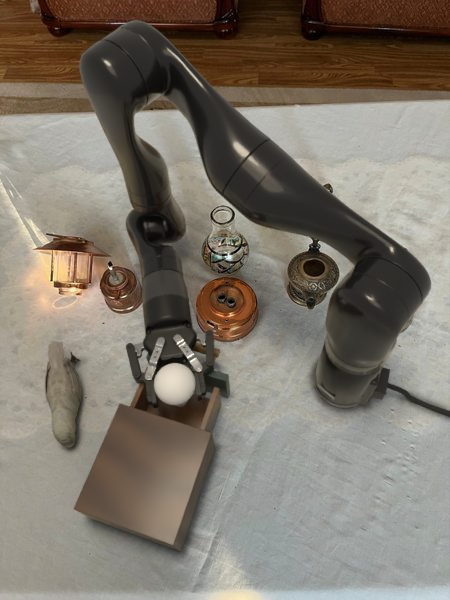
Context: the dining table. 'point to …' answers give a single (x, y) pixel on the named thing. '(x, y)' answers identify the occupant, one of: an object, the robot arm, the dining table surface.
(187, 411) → the drawer
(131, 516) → the cabinet
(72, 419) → the decorative bird
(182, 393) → the lightbulb
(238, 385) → the dining table surface
